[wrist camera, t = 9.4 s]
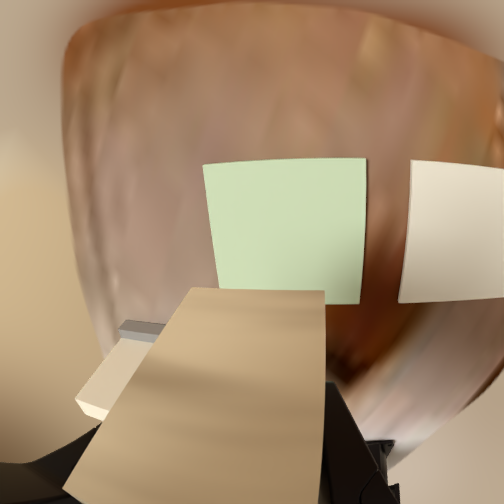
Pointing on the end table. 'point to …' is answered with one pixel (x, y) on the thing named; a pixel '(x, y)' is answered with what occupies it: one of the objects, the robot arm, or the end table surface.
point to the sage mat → (289, 224)
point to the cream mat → (453, 233)
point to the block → (218, 407)
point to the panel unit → (117, 368)
